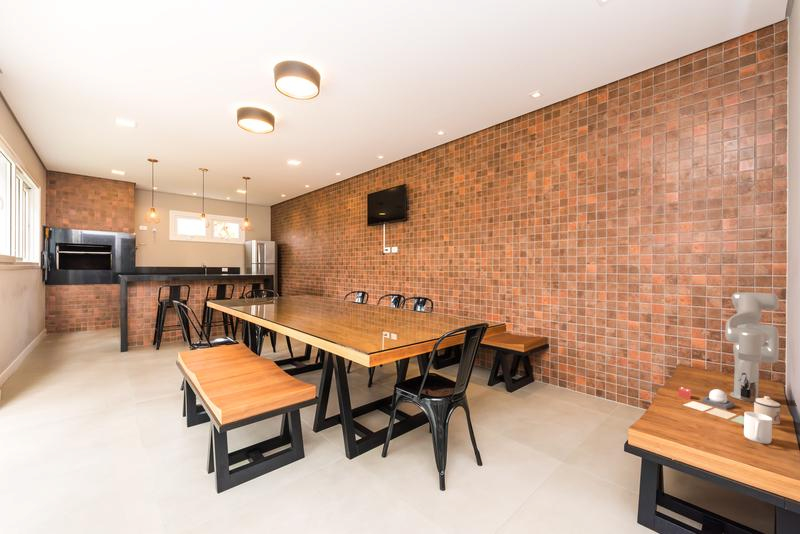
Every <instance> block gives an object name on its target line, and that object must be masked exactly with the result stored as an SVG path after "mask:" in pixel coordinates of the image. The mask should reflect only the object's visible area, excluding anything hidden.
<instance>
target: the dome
mask: <svg viewBox="0 0 800 534" xmlns="http://www.w3.org/2000/svg"><path fill="white" fill-rule="evenodd" d="M708 396H709V400H710V401H714V402H717V403H721V404H727V400H728V396H727V394H726V393H725V392H724V391H723V390H721V389H718V388H717V389H715V388H714V389H712V390H710V391H709V395H708Z"/></svg>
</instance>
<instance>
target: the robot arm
mask: <svg viewBox="0 0 800 534" xmlns="http://www.w3.org/2000/svg"><path fill="white" fill-rule="evenodd" d="M731 301H732V306H734V309H735V311H736V314H733V315H732V316H730V318H728V319H727V321H726V322H725V331H724V335H725V339H726V340H727V342H730V343H733V346H732V351H733V355H734V356H733V357H734V374H733V375H734V377H733V379H734V381H733V391H732V392H731V391H730V393H729V396H730V397H732V398H734V399H737V400H739V401H743V402H746V401H745V400H742V399H740V396H742V397H746V398H750V393H751V390H749V389H750V383H752V384H753V385H754V388H756V398H760V397H759V378H760V377H759V376H760V372H759V371H760V369H759V368H760V367H759V366H760V364H761V363H763V362H764V363H769V364H770V363H771V364H775V363H777V362H778V361H779V357H780V356H779V354H780V352H779V351H780V350H779V349H780V346H779V345H780V340H779V339H780V333H779V330H778V328H777V327H776V326H774V325H772V324H765V323H764V324H763V323H760V320H761V319H762V317H763V314H762V310H766V311H776V310H777V309H778V308H779V306H780V299H779V297H778V295H777V294H776V293H769V292H755V291H754V292H753V291H752V292H748V291H747V292H745V291H744V292H743V291H741V292H739V291H738V292H734V293H733V294H732V295H731ZM745 383H746V384H745ZM747 384H748V386H747ZM747 402H749V401H747ZM749 403H750V402H749Z"/></svg>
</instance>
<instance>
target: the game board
mask: <svg viewBox="0 0 800 534" xmlns="http://www.w3.org/2000/svg"><path fill="white" fill-rule="evenodd" d="M683 406H685V407H688V408H691V409H695V410H698V411H701V412H705V413H707V414H710V415H713V416H717V417H719V418H722V419H726V420H728V419H730V418H732V419H730V421H732V422H736V423H738V424H741V427H742V428H744V416H743V415H738V414H736V413H733V412H731V411H727V410H725V409H722V408H718V407H715V408H714V407H713V406H712V405H709V404H705V403H702V402H698V401H693V400H692V401H689V402H687V403H684V404H683ZM709 409H710V410H709ZM706 410H707V411H706ZM737 415H738V416H737ZM733 417H734V418H733Z"/></svg>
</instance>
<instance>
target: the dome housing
mask: <svg viewBox="0 0 800 534" xmlns="http://www.w3.org/2000/svg"><path fill="white" fill-rule="evenodd" d="M701 404H705V405H708V406H711V407H715V408H718V409H721V410H728V409H732V408H734V407H735V405H736V404H735V401H731V400H728V399H727V404H721V403H717V402H714V401H710V400H709V395H708V396H706V397H702V398H701Z"/></svg>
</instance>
